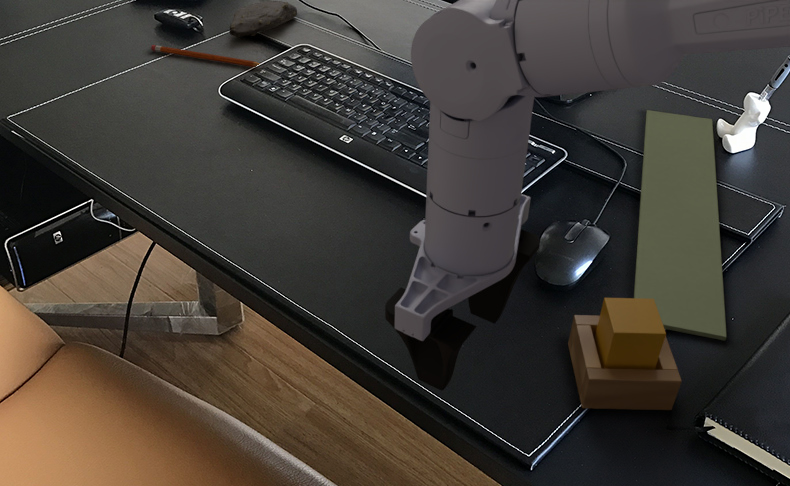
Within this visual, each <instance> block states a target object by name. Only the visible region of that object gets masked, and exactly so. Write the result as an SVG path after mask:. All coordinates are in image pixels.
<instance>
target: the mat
mask: <svg viewBox="0 0 790 486" xmlns="http://www.w3.org/2000/svg"><path fill="white" fill-rule="evenodd" d="M713 123H714V122H713V119H712V118H707V117H698V116H692V115H685V114H677V113H672V112H671V113H670V112H663V111H657V110H650V109H647V110H646V116H645V127H644V142H643V143H644V144H643V157H642V158H643V159H642V171H641V172H642V173H641V185H640V186H641V187H640V201H639V215H638V217H639V218H638V231H637V244H636V246H637V247H636V259H635V260H636V261H635V274H634V275H635V276H634V289H633V298H644V299H654V301H655V304H656V307H657V309H658V312H659V315H660V318H661V321H662V323H663V326H664V329H665V330H667V331H673V332H678V333H683V334H690V335H694V336H698V337H699V336H700V337H703V338H709V339H714V340H719V341H723V342H725V341H726V340H727V325H726V322H727V321H726V308H725V306H726V305H725V293H724V278H723V262H722V261H723V260H722V248H721V233H720V231H721V230H720V217H719V200H718V184H717V172H716V171H717V170H716V154H715V140H714V127H713V126H714V125H713Z"/></svg>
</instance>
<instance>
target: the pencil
mask: <svg viewBox="0 0 790 486" xmlns="http://www.w3.org/2000/svg"><path fill="white" fill-rule="evenodd" d="M150 49H151V51H153V52H159V53H165V54H170V55H175V56H176V55H178V56H184V57H188V58H189V57H190V58H195V59H201V60H208V61H214V62H219V63H224V64H225V63H226V64H232V65H238V66H243V67H250V68H257V67H256V66H257V65H259V64H261V63H260V62H257V61H254V60H248V59H241V58H236V57H228V56H223V55H218V54H211V53H206V52H199V51H195V50H194V51H193V50H188V49H187V50H186V49H181V48H175V47H168V46H163V45H155V44H152V45H151V46H150Z"/></svg>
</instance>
